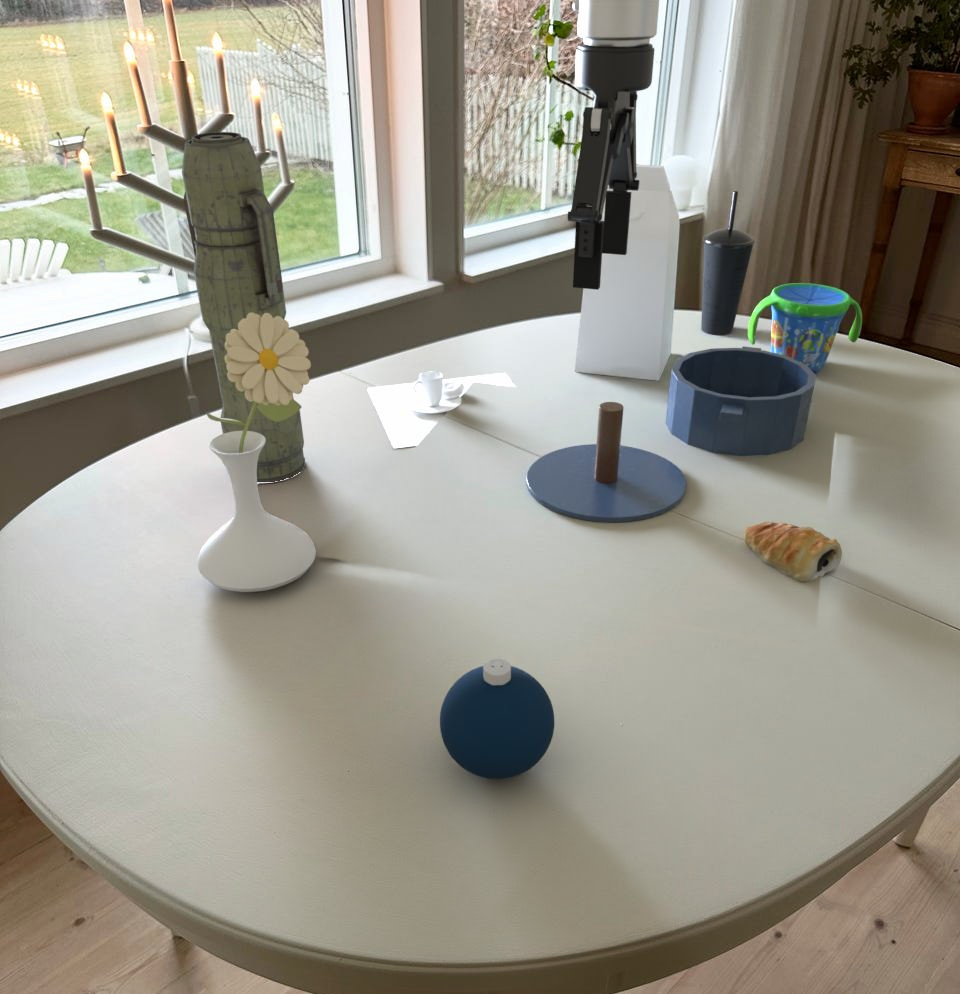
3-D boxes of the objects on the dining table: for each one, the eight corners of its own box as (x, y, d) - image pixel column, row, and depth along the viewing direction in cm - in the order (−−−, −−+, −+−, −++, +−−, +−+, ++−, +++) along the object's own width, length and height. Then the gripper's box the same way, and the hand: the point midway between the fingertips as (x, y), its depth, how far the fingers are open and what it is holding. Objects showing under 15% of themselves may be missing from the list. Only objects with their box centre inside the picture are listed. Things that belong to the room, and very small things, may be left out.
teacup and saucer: (459, 389, 131) (459, 360, 129) (474, 412, 125) (473, 382, 122) (396, 396, 129) (394, 367, 127) (408, 419, 123) (406, 389, 121)
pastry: (726, 552, 96) (732, 518, 94) (767, 530, 100) (774, 498, 98) (805, 591, 91) (814, 557, 88) (846, 567, 94) (855, 533, 92)
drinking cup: (715, 318, 154) (733, 183, 142) (751, 331, 149) (774, 192, 137) (681, 328, 150) (697, 190, 138) (718, 341, 145) (738, 200, 133)
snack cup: (842, 352, 141) (858, 282, 135) (862, 379, 133) (880, 305, 126) (735, 352, 142) (746, 281, 136) (748, 378, 133) (761, 305, 127)
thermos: (255, 442, 118) (203, 124, 97) (330, 463, 113) (293, 133, 92) (204, 470, 112) (137, 138, 91) (281, 494, 107) (229, 148, 86)
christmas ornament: (546, 724, 76) (550, 621, 70) (558, 801, 69) (564, 695, 63) (441, 727, 76) (436, 625, 70) (442, 805, 69) (437, 699, 63)
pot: (808, 404, 126) (820, 348, 121) (797, 478, 109) (810, 416, 105) (681, 389, 130) (687, 335, 126) (651, 458, 113) (657, 398, 109)
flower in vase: (210, 614, 88) (153, 349, 73) (192, 554, 97) (137, 306, 82) (347, 584, 92) (319, 326, 77) (318, 529, 101) (287, 287, 86)
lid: (696, 464, 112) (707, 385, 106) (670, 538, 99) (681, 452, 93) (549, 444, 117) (552, 367, 111) (506, 512, 103) (506, 429, 97)
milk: (671, 352, 142) (692, 159, 126) (658, 380, 133) (680, 177, 117) (591, 344, 145) (603, 155, 129) (574, 371, 136) (585, 172, 120)
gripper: (606, 29, 102) (593, 238, 115) (543, 53, 83) (536, 300, 96) (676, 31, 100) (655, 243, 113) (627, 55, 81) (609, 307, 94)
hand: (600, 270), depth 104 cm, fingers open, 13 cm apart
